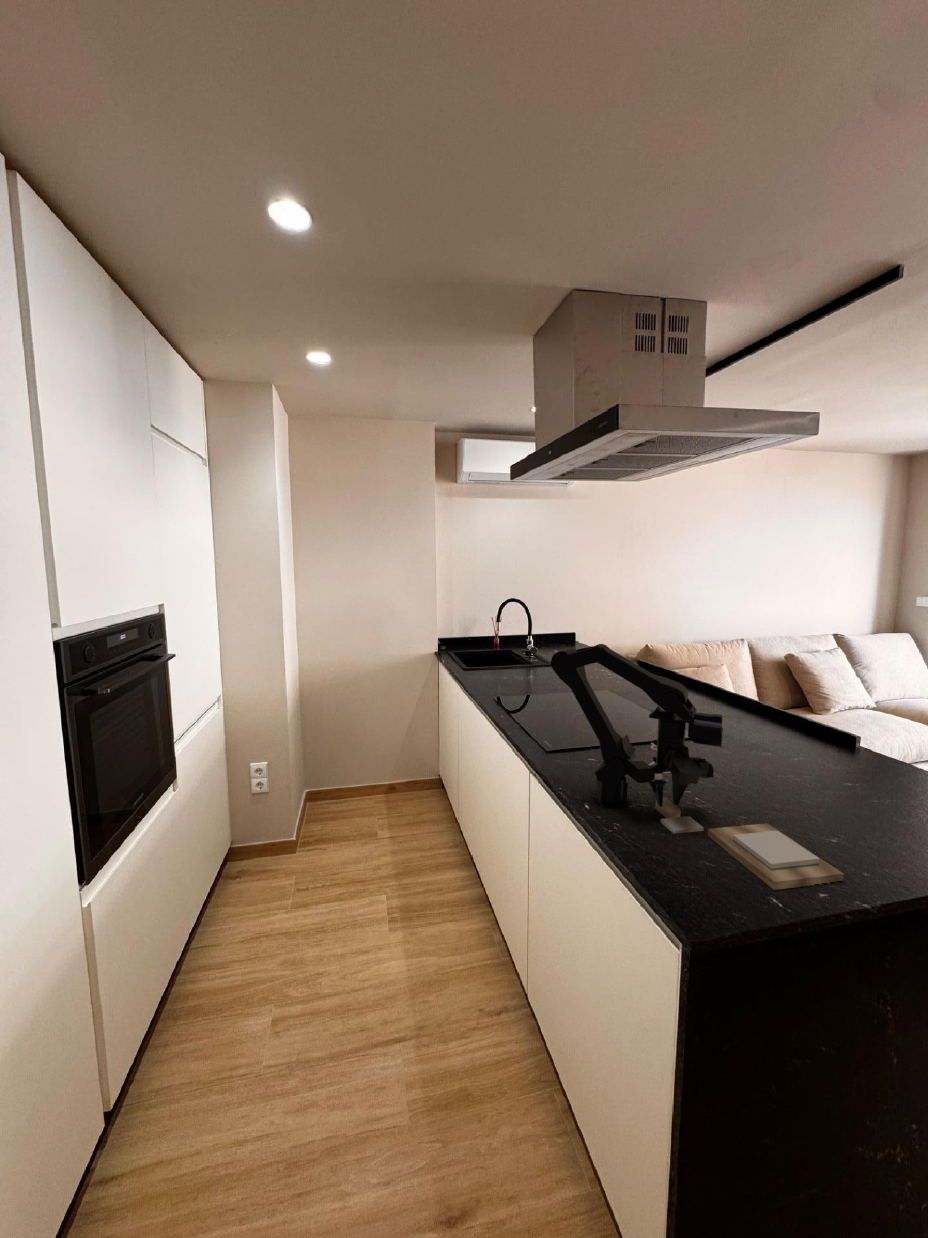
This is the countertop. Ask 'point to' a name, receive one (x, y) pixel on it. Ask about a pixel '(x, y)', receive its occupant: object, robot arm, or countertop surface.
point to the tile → (775, 850)
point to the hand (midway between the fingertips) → (667, 805)
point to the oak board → (770, 877)
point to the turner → (676, 818)
